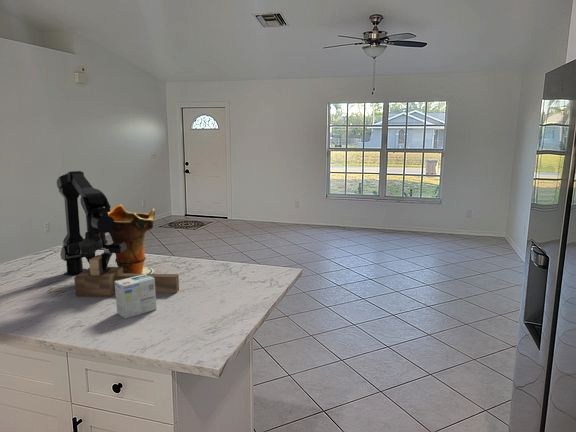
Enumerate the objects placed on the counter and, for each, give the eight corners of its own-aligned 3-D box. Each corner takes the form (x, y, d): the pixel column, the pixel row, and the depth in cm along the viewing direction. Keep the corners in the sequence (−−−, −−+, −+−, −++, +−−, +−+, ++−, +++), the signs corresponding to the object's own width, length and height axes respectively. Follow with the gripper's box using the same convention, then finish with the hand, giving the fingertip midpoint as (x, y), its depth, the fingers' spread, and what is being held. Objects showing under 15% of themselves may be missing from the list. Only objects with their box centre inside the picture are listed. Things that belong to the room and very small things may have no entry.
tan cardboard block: (99, 276, 155) (97, 254, 154) (108, 276, 155) (106, 255, 154) (91, 281, 149) (89, 259, 148) (100, 281, 149) (99, 259, 148)
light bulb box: (147, 304, 141) (145, 272, 139) (157, 309, 136) (155, 277, 134) (115, 313, 133) (113, 280, 131) (125, 319, 129) (122, 285, 127)
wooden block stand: (92, 284, 159) (91, 266, 158) (182, 285, 158) (181, 267, 157) (76, 296, 147) (74, 277, 146) (173, 297, 146) (172, 278, 145)
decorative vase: (147, 282, 160) (139, 209, 156) (92, 282, 164) (82, 211, 159) (171, 266, 181) (164, 201, 176) (121, 266, 184) (113, 203, 180)
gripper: (56, 232, 141) (61, 277, 144) (112, 233, 141) (115, 278, 144) (74, 225, 152) (78, 267, 155) (125, 226, 152) (128, 268, 154)
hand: (99, 270), depth 152 cm, fingers closed on tan cardboard block, 3 cm apart
